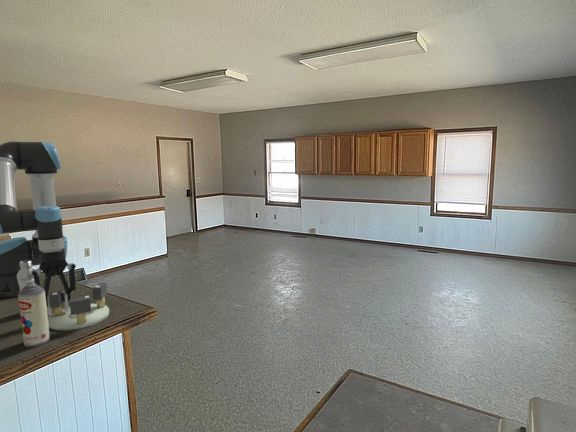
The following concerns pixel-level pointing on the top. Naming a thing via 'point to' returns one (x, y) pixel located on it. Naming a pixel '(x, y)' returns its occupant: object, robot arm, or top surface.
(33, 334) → the aerosol can
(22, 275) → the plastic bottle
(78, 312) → the knob front
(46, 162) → the robot arm
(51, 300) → the dark grey rectangular block
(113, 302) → the top surface
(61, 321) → the base
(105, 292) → the grey block on peg
